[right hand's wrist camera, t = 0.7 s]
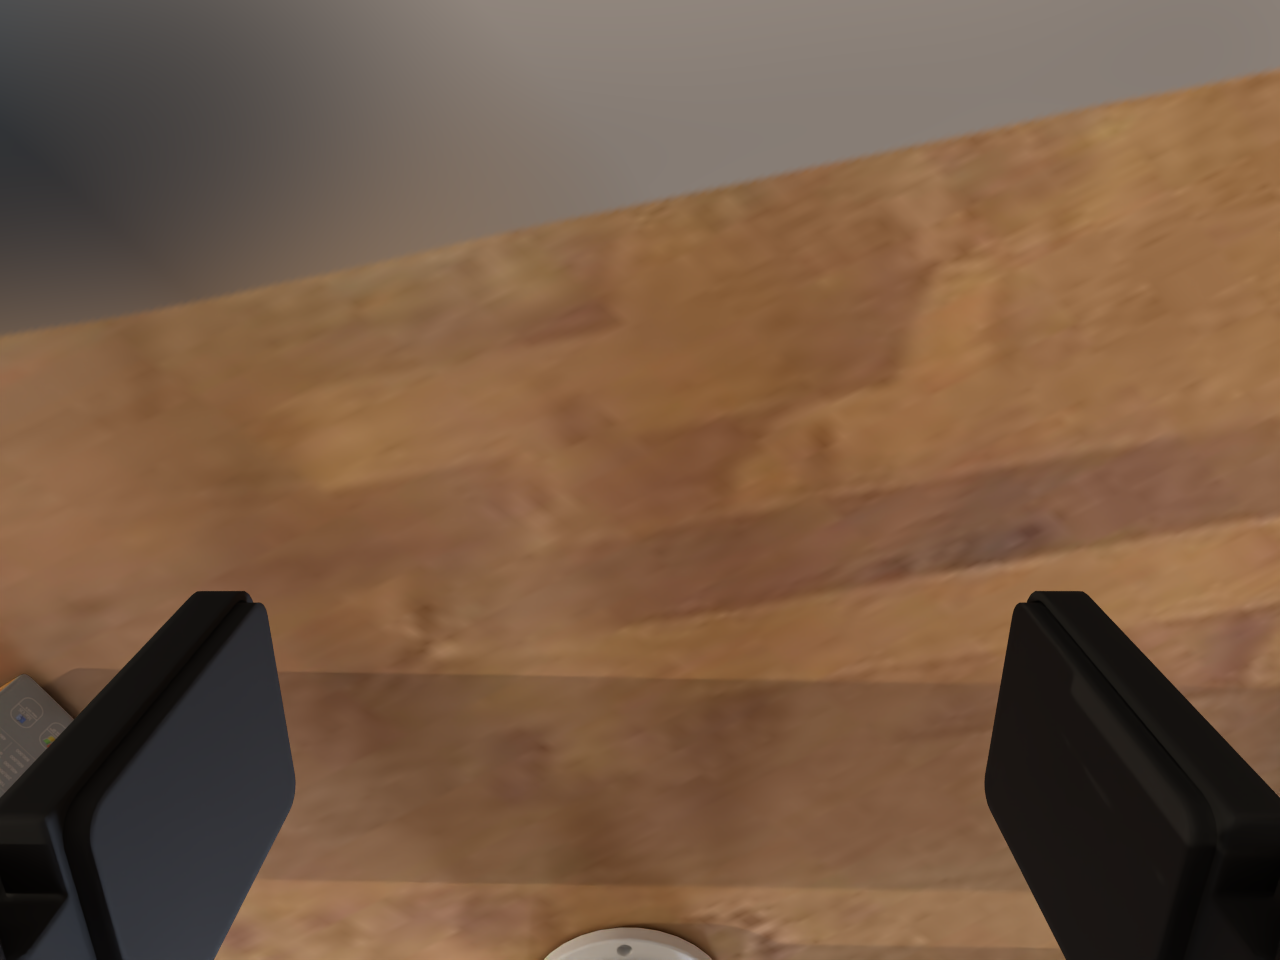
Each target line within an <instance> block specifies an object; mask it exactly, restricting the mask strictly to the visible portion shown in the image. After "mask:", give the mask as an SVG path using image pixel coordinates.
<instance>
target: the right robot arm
mask: <svg viewBox="0 0 1280 960" xmlns="http://www.w3.org/2000/svg"><path fill="white" fill-rule="evenodd" d="M294 794H295V773H294V767H293V761H292V756H291V750H290V744H289V738H288V732H287V726H286V720H285V715H284V709H283V703H282V697H281V691H280V685H279V680H278V674H277V668H276V662H275V656H274V650H273V644H272V639H271V633H270V627H269V621H268V615H267V612H266V609H265V607H264V605H263V604H262V603H253V601H252V599H251V597H250V595H249V594H248V593H247V592H245V591H197V592H196V593H194V594H193V595H192V596H191V597H190V598H189V599H188V600H187V601H186V602H185V603H184V604H183V605H182V606H181V607H180V608H179V609H178V610H177V611H176V613H175V614H174V615H173V616H172V617H171V618H170V619H169V620H168V621H167V622H166V623H165V624H164V625H163V626H162V627H161V628H160V629H159V630H158V632H157V633H156V634H155V635H154V636H153V637H152V638H151V639H150V640H149V641H148V642H147V643H146V644H145V645H144V646H143V647H142V648H141V650H140V651H139V652H138V653H137V654H136V655H135V656H134V657H133V658H132V659H131V660H130V661H129V662H128V663H127V664H126V665H125V666H124V667H123V669H122V670H121V671H120V672H119V673H118V674H117V675H116V676H115V677H114V678H113V679H112V680H111V681H110V682H109V683H108V684H107V685H106V686H105V688H104V689H103V690H102V691H101V692H100V693H99V694H98V695H97V696H96V697H95V698H94V699H93V700H92V701H91V702H90V703H89V704H88V706H87V707H86V708H85V709H84V710H83V711H82V712H81V713H80V714H79V715H78V716H77V717H76V718H75V719H74V720H73V721H72V722H71V723H70V725H69V726H68V727H67V728H66V729H65V730H64V731H63V732H62V733H61V734H60V735H59V736H58V737H57V738H56V739H55V740H54V741H53V742H52V744H51V745H50V746H49V747H48V748H47V749H46V750H45V751H44V752H43V753H42V754H41V755H40V756H39V757H38V758H37V759H36V760H35V762H34V763H33V764H32V765H31V766H30V767H29V768H28V769H27V770H26V771H25V772H24V773H23V774H22V775H21V776H20V777H19V778H18V779H17V781H16V782H15V783H14V784H13V785H12V786H11V787H10V788H9V789H8V790H7V791H6V792H5V793H4V794H3V795H2V796H1V797H0V960H214V958H215V956H216V954H217V952H218V950H219V949H220V947H221V945H222V943H223V941H224V939H225V937H226V935H227V933H228V931H229V929H230V927H231V925H232V923H233V921H234V919H235V917H236V915H237V913H238V911H239V909H240V907H241V905H242V903H243V901H244V899H245V897H246V895H247V893H248V892H249V890H250V888H251V886H252V884H253V882H254V880H255V878H256V876H257V874H258V872H259V870H260V868H261V866H262V864H263V862H264V860H265V858H266V856H267V854H268V852H269V850H270V848H271V846H272V844H273V842H274V840H275V838H276V836H277V834H278V833H279V831H280V829H281V827H282V825H283V823H284V821H285V819H286V817H287V815H288V813H289V811H290V809H291V806H292V803H293V799H294ZM985 794H986V799H987V803H988V806H989V809H990V811H991V813H992V815H993V817H994V819H995V821H996V823H997V825H998V827H999V829H1000V831H1001V833H1002V834H1003V836H1004V838H1005V840H1006V842H1007V844H1008V846H1009V848H1010V850H1011V852H1012V854H1013V856H1014V858H1015V860H1016V862H1017V864H1018V866H1019V868H1020V870H1021V872H1022V874H1023V876H1024V878H1025V880H1026V882H1027V884H1028V886H1029V888H1030V890H1031V891H1032V893H1033V895H1034V897H1035V899H1036V901H1037V903H1038V905H1039V907H1040V909H1041V911H1042V913H1043V915H1044V917H1045V919H1046V921H1047V923H1048V925H1049V927H1050V929H1051V931H1052V933H1053V935H1054V937H1055V939H1056V941H1057V943H1058V945H1059V947H1060V949H1061V950H1062V952H1063V954H1064V956H1065V958H1066V960H1280V797H1279V796H1278V795H1277V794H1276V793H1275V792H1274V791H1273V790H1272V789H1271V788H1270V787H1269V786H1268V785H1267V784H1266V783H1265V782H1264V781H1263V779H1262V778H1261V777H1260V776H1259V775H1258V774H1257V773H1256V772H1255V771H1254V770H1253V769H1252V768H1251V767H1250V766H1249V765H1248V764H1247V763H1246V762H1245V760H1244V759H1243V758H1242V757H1241V756H1240V755H1239V754H1238V753H1237V752H1236V751H1235V750H1234V749H1233V748H1232V747H1231V746H1230V745H1229V744H1228V742H1227V741H1226V740H1225V739H1224V738H1223V737H1222V736H1221V735H1220V734H1219V733H1218V732H1217V731H1216V730H1215V729H1214V728H1213V727H1212V726H1211V725H1210V723H1209V722H1208V721H1207V720H1206V719H1205V718H1204V717H1203V716H1202V715H1201V714H1200V713H1199V712H1198V711H1197V710H1196V709H1195V708H1194V707H1193V706H1192V704H1191V703H1190V702H1189V701H1188V700H1187V699H1186V698H1185V697H1184V696H1183V695H1182V694H1181V693H1180V692H1179V691H1178V690H1177V689H1176V688H1175V686H1174V685H1173V684H1172V683H1171V682H1170V681H1169V680H1168V679H1167V678H1166V677H1165V676H1164V675H1163V674H1162V673H1161V672H1160V671H1159V670H1158V669H1157V667H1156V666H1155V665H1154V664H1153V663H1152V662H1151V661H1150V660H1149V659H1148V658H1147V657H1146V656H1145V655H1144V654H1143V653H1142V652H1141V651H1140V650H1139V648H1138V647H1137V646H1136V645H1135V644H1134V643H1133V642H1132V641H1131V640H1130V639H1129V638H1128V637H1127V636H1126V635H1125V634H1124V633H1123V632H1122V630H1121V629H1120V628H1119V627H1118V626H1117V625H1116V624H1115V623H1114V622H1113V621H1112V620H1111V619H1110V618H1109V617H1108V616H1107V615H1106V614H1105V613H1104V611H1103V610H1102V609H1101V608H1100V607H1099V606H1098V605H1097V604H1096V603H1095V602H1094V601H1093V600H1092V599H1091V598H1090V597H1089V596H1088V595H1087V594H1086V593H1084V592H1083V591H1035V592H1033V593H1032V594H1031V595H1030V597H1029V599H1028V601H1027V603H1018V604H1017V605H1016V607H1015V609H1014V612H1013V615H1012V621H1011V627H1010V633H1009V639H1008V644H1007V650H1006V656H1005V662H1004V668H1003V674H1002V680H1001V685H1000V691H999V697H998V703H997V709H996V715H995V720H994V726H993V732H992V738H991V744H990V750H989V756H988V761H987V767H986V773H985ZM544 960H712V959H711V958H710V957H709V956H708V955H707V954H706V953H704V952H703V951H702V950H700V949H699V948H698V947H696V946H695V945H693V944H691V943H689V942H687V941H685V940H683V939H681V938H679V937H677V936H674V935H671V934H668V933H664V932H661V931H657V930H651V929H644V928H622V927H619V928H612V929H604V930H598V931H595V932H591V933H588V934H584V935H581V936H579V937H577V938H574V939H572V940H570V941H568V942H566V943H564V944H562V945H561V946H560V947H558V948H557V949H555V950H554V951H552V952H551V953H550V954H549V955H548V956H547V957H546V958H545V959H544Z"/></svg>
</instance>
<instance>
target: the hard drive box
mask: <svg viewBox="0 0 1280 960" xmlns="http://www.w3.org/2000/svg"><path fill="white" fill-rule="evenodd" d="M73 720H74V719H73V718H72V717H71V716H70V715H69V714H68V713H67V712H66V711H65V710H64V709H63V708H62V707H61V706H60V705H59V704H58V703H57V702H56V701H55V700H54V699H53V698H52V697H51V696H50V695H49V694H48V693H46V692H45V691H44V690H43V689H42V688H41V687H40V686H39V685H38V684H37V683H36V682H35V681H34V680H33V679H32V678H31V677H30V676H28V675H27V674H22V675H20V676H18V677H16V678H15V679H13V680H11V681H10V682H8V683H6V684H5V685H3V686H2V687H0V797H1V796H2V795H3V794H4V793H5V792H6V791H7V790H8V789H9V788H10V787H11V786H12V785H13V784H14V783H15V782H16V781H17V779H18V778H19V777H20V776H21V775H22V774H23V773H24V772H25V771H26V770H27V769H28V768H29V767H30V766H31V765H32V764H33V763H34V762H35V760H36V759H37V758H38V757H39V756H40V755H41V754H42V753H43V752H44V751H45V750H46V749H47V748H48V747H49V746H50V745H51V744H52V742H53V741H54V740H55V739H56V738H57V737H58V736H59V735H60V734H61V733H62V732H63V731H64V730H65V729H66V728H67V727H68V726H69V725H70V723H71V722H72V721H73Z"/></svg>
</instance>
